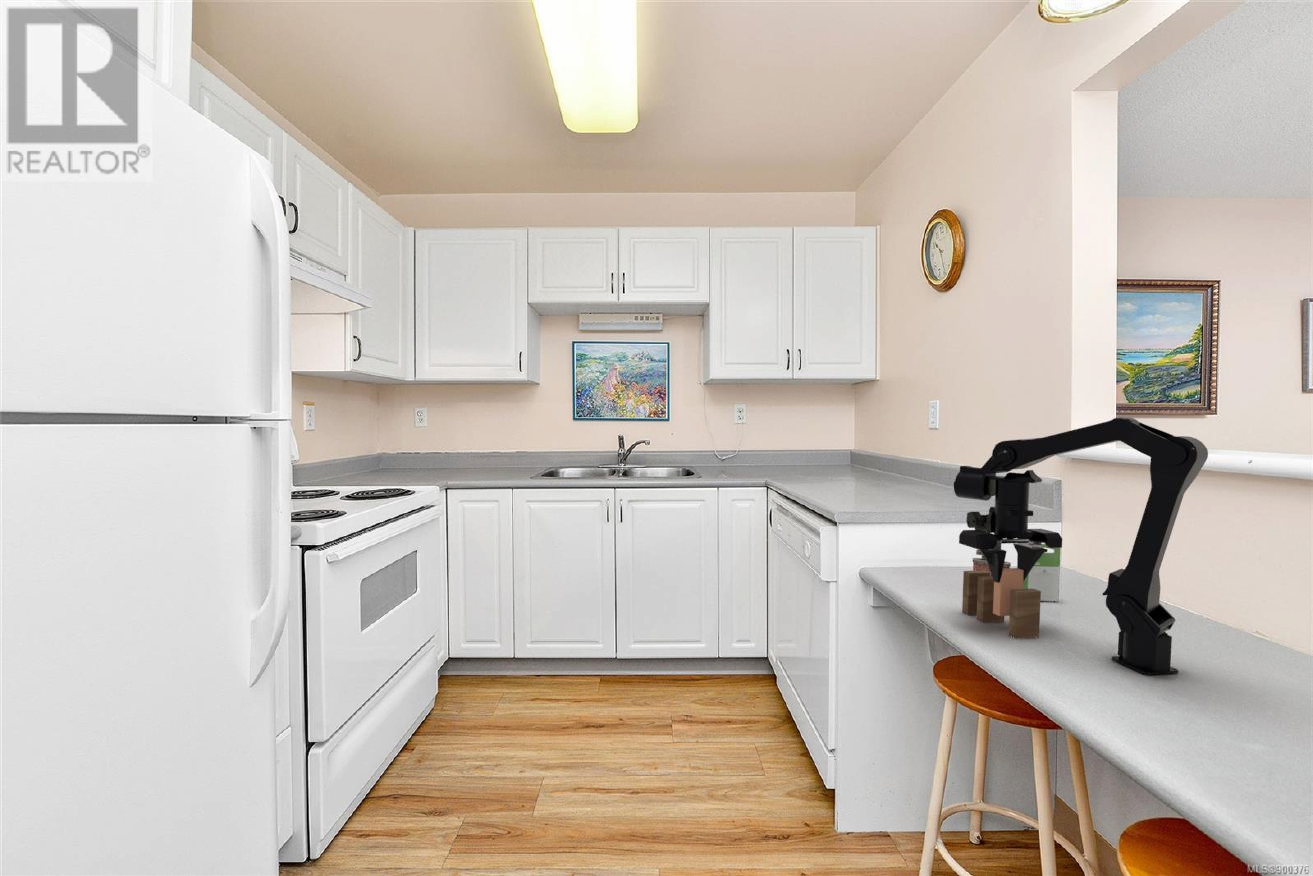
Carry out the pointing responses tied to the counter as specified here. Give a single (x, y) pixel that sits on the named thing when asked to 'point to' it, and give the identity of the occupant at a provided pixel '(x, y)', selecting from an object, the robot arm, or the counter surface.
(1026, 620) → the domino
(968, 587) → the domino
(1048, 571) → the ink box
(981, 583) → the domino
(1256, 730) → the counter surface
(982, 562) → the lighter
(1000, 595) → the domino
